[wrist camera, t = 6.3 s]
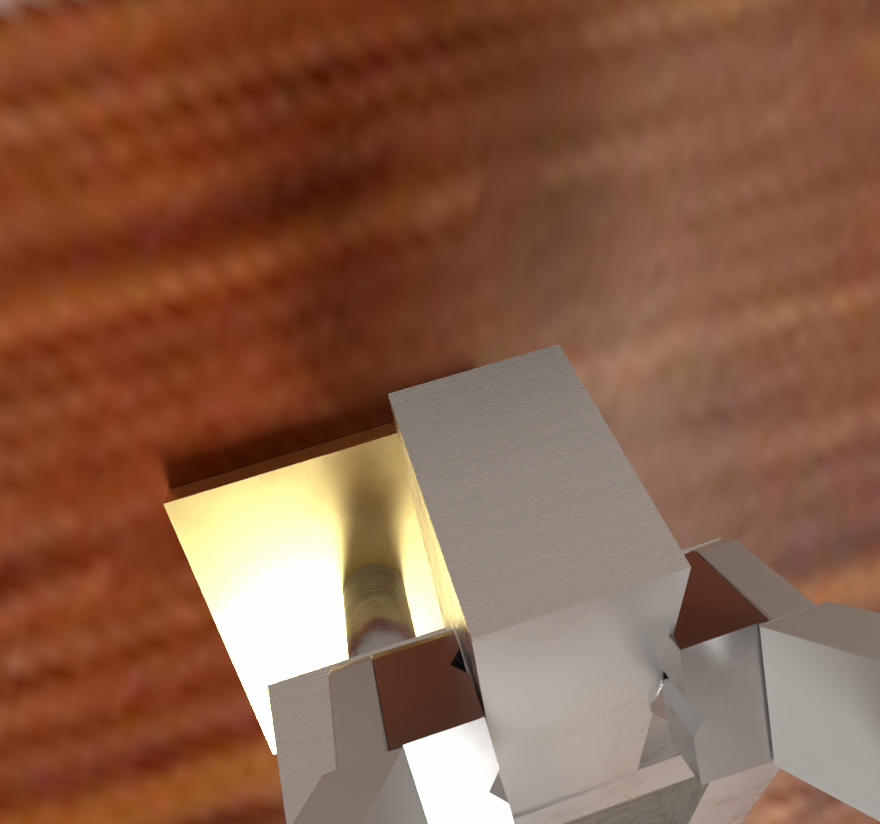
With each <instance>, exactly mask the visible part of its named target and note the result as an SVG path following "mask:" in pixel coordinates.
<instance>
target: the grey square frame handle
mask: <svg viewBox="0 0 880 824" xmlns="http://www.w3.org/2000/svg"><path fill="white" fill-rule="evenodd" d="M388 397H389V401H390V405H391V409H392V413H393V417H394V422H395V426H396V430H397V434H398V438H399V442H400V446H401V451H402V455H403V459H404V463H405V467H406V471H407V475H408V479H409V484H410V488H411V492H412V496H413V500H414V504H415V508H416V513H417V517H418V521H419V525H420V529H421V533H422V537H423V541H424V546H425V550H426V554H427V558H428V562H429V566H430V570H431V575H432V579H433V583H434V587H435V591H436V595H437V599H438V603H439V608H440V612H441V616H442V620H443V624H444V628H442V629H439V630H436V631H433V632H429V633H426V634H423V635H420V636H417V637H414V638H411V639H408V640H405V641H402V642H399V643H396V644H393V645H390V646H387V647H383V648H380V649H377V650H374V651H371V652H368V653H365V654H362V655H359V656H356V657H353V658H350V659H347V660H344V661H340V662H337V663H334V664H331V665H328V666H325V667H322V668H319V669H316V670H313V671H310V672H307V673H304V674H301V675H298V676H294V677H291V678H288V679H285V680H282V681H279V682H276V683H273V684H270V685H267V686H268V694H269V701H270V708H271V715H272V722H273V730H274V737H275V744H276V751H277V758H278V766H279V773H280V780H281V787H282V795H283V802H284V809H285V816H286V823H287V824H293V823H294V821H295V819H296V818H297V816H298V815H299V813H300V811H301V810H302V808H303V806H304V805H305V803H306V802H307V800H308V798H309V797H310V795H311V793H312V792H313V790H314V789H315V787H316V785H317V784H318V782H319V780H320V779H321V777H322V776H323V774H325V773H328V772H331V771H334V770H336V762H335V750H334V738H333V727H332V715H331V703H330V691H329V680H328V675H329V672H330V669H331V668H333V667H336V666H339V665H342V664H345V663H348V662H351V661H354V660H357V659H360V658H363V657H366V656H371V657H373V654H376V653H379V652H382V651H386V650H389V649H392V648H396V647H399V646H402V645H405V644H409V643H412V642H415V641H419V640H422V639H425V638H428V637H432V636H435V635H438V634H442V633H445V632H448V631H451V630H453V631H454V634H455V636H456V639H457V641H458V644H459V647H460V650H461V653H462V657H463V660H464V664H465V667H466V670H467V673H469V674H470V677H471V680H472V682H473V685H474V688H475V691H476V694H477V697H478V700H479V702H480V705H481V708H482V711H483V714H484V717H485V720H486V724H487V727H488V730H489V734H490V737H491V741H492V744H493V748H494V751H495V755H496V758H497V762H498V765H499V771H498V773H499V776H500V779H501V781H502V784H503V787H504V790H505V793H506V796H507V799H508V802H509V805H510V809H511V813H512V816H513V820H514V824H741V822H742V821H743V819H744V818H745V817H746V815H747V814H748V812H749V811H750V810H751V808H752V807H753V805H754V804H755V803H756V801H757V800H758V799H759V797H760V796H761V794H762V793H763V792H764V790H765V789H766V787H767V786H768V785H769V783H770V782H771V780H772V779H773V778H774V776H775V775H776V773H777V772H778V771H779V769H780V768H779V767H777V766H775V765H774V761H773V762H770V763H767V764H764V765H761V766H758V767H755V768H752V769H749V770H746V771H743V772H740V773H737V774H734V775H731V776H728V777H725V778H722V779H719V780H716V781H713V782H710V783H707V784H704V785H701V784H700V782H699V781H698V780H697V778H696V777H695V775H694V774H693V772H692V771H691V769H690V768H689V766H688V765H687V764H686V762H685V761H684V759H683V758H682V756H681V755H680V753H679V752H678V750H677V749H676V747H675V746H674V745H673V743H672V742H671V736H670V731H669V725H668V720H665V719H663V718H661V717H658V716H656V715H653V713H652V712H651V710H650V706H651V703H652V702H653V701H654V700H655V698H656V697H657V695H658V691H659V687H660V683H661V679H662V676H663V672H664V671H663V670H662V668H661V667H660V665H661V662H662V658H663V654H664V651H665V647H666V643H667V640H668V636H670V635H673V634H674V630H675V627H676V623H677V619H678V615H679V611H680V608H681V604H682V600H683V596H684V593H685V589H686V585H687V581H688V578H689V574H690V570H691V566H690V564H689V562H688V561H687V559H686V557H685V556H684V554H686V553H689V552H690V551H691V550H694V549H697V548H699V547H702V546H705V545H708V544H710V543H713V542H716V541H719V540H721V538H718V539H715V540H712V541H709V542H706V543H703V544H700V545H697V546H693V547H690V548H687V549H684V550H681V549H680V547H679V546H678V544H677V542H676V541H675V539H674V537H673V535H672V534H671V532H670V530H669V529H668V527H667V525H666V524H665V522H664V520H663V519H662V517H661V515H660V514H659V512H658V510H657V508H656V507H655V505H654V503H653V502H652V500H651V498H650V497H649V495H648V493H647V492H646V490H645V488H644V487H643V485H642V483H641V481H640V480H639V478H638V476H637V475H636V473H635V471H634V470H633V468H632V466H631V465H630V463H629V461H628V460H627V458H626V456H625V455H624V453H623V451H622V449H621V448H620V446H619V444H618V443H617V441H616V439H615V438H614V436H613V434H612V433H611V431H610V429H609V428H608V426H607V424H606V422H605V421H604V419H603V417H602V416H601V414H600V412H599V411H598V409H597V407H596V406H595V404H594V402H593V401H592V399H591V397H590V395H589V394H588V392H587V390H586V389H585V387H584V385H583V384H582V382H581V380H580V379H579V377H578V375H577V374H576V372H575V370H574V369H573V367H572V365H571V363H570V362H569V360H568V358H567V357H566V355H565V353H564V352H563V350H562V348H561V347H560V345H559V344H558V345H555V346H551V347H548V348H544V349H541V350H537V351H534V352H530V353H527V354H524V355H520V356H517V357H513V358H510V359H506V360H503V361H499V362H496V363H492V364H489V365H486V366H482V367H479V368H475V369H472V370H468V371H465V372H461V373H458V374H455V375H451V376H448V377H444V378H441V379H437V380H434V381H430V382H427V383H424V384H420V385H417V386H413V387H410V388H406V389H403V390H399V391H396V392H392V393H389V394H388Z"/></svg>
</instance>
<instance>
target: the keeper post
mask: <svg viewBox="0 0 880 824" xmlns="http://www.w3.org/2000/svg"><path fill="white" fill-rule="evenodd" d="M164 506H165V509H166V511H167V513H168V515H169V518H170V520H171V522H172V525H173V527H174V529H175V531H176V534H177V536H178V538H179V541H180V543H181V545H182V547H183V550H184V552H185V554H186V557H187V559H188V561H189V563H190V566H191V568H192V570H193V573H194V575H195V577H196V579H197V582H198V584H199V586H200V589H201V591H202V593H203V595H204V598H205V600H206V602H207V605H208V607H209V609H210V611H211V614H212V616H213V618H214V621H215V623H216V625H217V627H218V630H219V632H220V634H221V637H222V639H223V641H224V643H225V646H226V648H227V650H228V653H229V655H230V657H231V659H232V662H233V664H234V666H235V669H236V671H237V673H238V675H239V678H240V680H241V682H242V684H243V687H244V689H245V691H246V694H247V696H248V698H249V700H250V703H251V705H252V707H253V710H254V712H255V714H256V716H257V719H258V721H259V723H260V726H261V728H262V730H263V732H264V735H265V737H266V739H267V742H268V744H269V746H270V748H271V751H272V753H273V755H274V754H277V751H276V744H275V737H274V730H273V722H272V715H271V708H270V701H269V694H268V686H267V685H270V684H273V683H276V682H279V681H282V680H285V679H288V678H291V677H294V676H298V675H301V674H304V673H307V672H310V671H313V670H316V669H319V668H322V667H325V666H328V665H331V664H334V663H337V662H340V661H344V660H347V659H350V658H353V657H356V656H359V655H362V654H365V653H368V652H371V651H374V650H377V649H380V648H383V647H387V646H390V645H393V644H396V643H399V642H402V641H405V640H408V639H411V638H414V637H417V636H420V635H423V634H426V633H429V632H433V631H436V630H439V629H442V628H444V624H443V620H442V616H441V612H440V608H439V603H438V599H437V595H436V591H435V587H434V583H433V579H432V575H431V570H430V566H429V562H428V558H427V554H426V550H425V546H424V541H423V537H422V533H421V529H420V525H419V521H418V517H417V513H416V508H415V504H414V500H413V496H412V492H411V488H410V484H409V479H408V475H407V471H406V467H405V463H404V459H403V455H402V451H401V446H400V442H399V438H398V434H397V430H396V426H395V422H392V423H388V424H385V425H382V426H378V427H375V428H372V429H368V430H365V431H362V432H358V433H355V434H352V435H349V436H345V437H342V438H339V439H335V440H332V441H329V442H325V443H322V444H319V445H315V446H312V447H309V448H305V449H302V450H299V451H295V452H292V453H289V454H285V455H282V456H279V457H275V458H272V459H269V460H265V461H262V462H259V463H256V464H252V465H249V466H246V467H242V468H239V469H236V470H232V471H229V472H226V473H222V474H219V475H216V476H212V477H209V478H206V479H202V480H199V481H196V482H192V483H189V484H186V485H182V486H179V487H176V488H172V489H169V491H168V493H167V496H166V499H165V501H164Z"/></svg>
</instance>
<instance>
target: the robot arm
mask: <svg viewBox="0 0 880 824" xmlns="http://www.w3.org/2000/svg"><path fill="white" fill-rule="evenodd" d="M684 556H685V557H686V559H687V561H688V562H689V564H690V566H691V570H690V574H689V578H688V581H687V585H686V589H685V593H684V596H683V600H682V604H681V608H680V611H679V615H678V619H677V623H676V627H675V630H674V634H673V635H670V636H668V640H667V643H666V647H665V651H664V654H663V658H662V662H661V665H660V667H661V668H662V670H663V671H664V672H663V676H662V679H661V683H660V687H659V691H658V695H657V697H656V698H655V700H654V701H653V702H652V703H651V706H650V710H651V712H652V713H653V715H656V716H658V717H661V718H663V719H665V720H668V725H669V731H670V736H671V742H672V743H673V745H674V746H675V747H676V749H677V750H678V752H679V753H680V755H681V756H682V758H683V759H684V761H685V762H686V764H687V765H688V766H689V768H690V769H691V771H692V772H693V774H694V775H695V777H696V778H697V780H698V781H699V782H700V784H701V785H704V784H707V783H710V782H713V781H716V780H719V779H722V778H725V777H728V776H731V775H734V774H737V773H740V772H743V771H746V770H749V769H752V768H755V767H758V766H761V765H764V764H767V763H770V762H773V761H774V765H775V766H777V767H779V768H781V769H782V770H784V771H786V772H788V773H790V774H792V775H794V776H796V777H797V778H799V779H801V780H803V781H805V782H807V783H809V784H811V785H812V786H814V787H816V788H818V789H820V790H822V791H824V792H825V793H827V794H829V795H831V796H833V797H835V798H837V799H839V800H840V801H842V802H844V803H846V804H848V805H850V806H852V807H854V808H855V809H857V810H859V811H861V812H863V813H865V814H867V815H868V816H870V817H872V818H874V819H876V820H878V821H880V613H876V612H872V611H868V610H863V609H859V608H855V607H851V606H847V605H842V604H838V603H834V602H830V601H827V602H824V603H821V604H818V605H816V604H814V603H813V602H812V601H811V600H809V599H808V598H807V597H806V596H805V595H803V594H802V593H801V592H800V591H798V590H797V589H796V588H795V587H793V586H792V585H791V584H790V583H789V582H787V581H786V580H785V579H784V578H782V577H781V576H780V575H779V574H777V573H776V572H775V571H774V570H772V569H771V568H770V567H769V566H768V565H766V564H765V563H764V562H763V561H761V560H760V559H759V558H758V557H756V556H755V555H754V554H753V553H751V552H750V551H749V550H748V549H747V548H745V547H744V546H743V545H742V544H740V543H739V542H738V541H737V540H735V539H731V538H724V539H721V540H719V541H716V542H713V543H710V544H708V545H705V546H702V547H699V548H697V549H694V550H691V551H690V552H689V553H686V554H684ZM328 680H329V691H330V703H331V715H332V727H333V738H334V750H335V762H336V770H334V771H331V772H328V773H325V774H323V776H322V777H321V779H320V780H319V782H318V784H317V785H316V787H315V789H314V790H313V792H312V793H311V795H310V797H309V798H308V800H307V802H306V803H305V805H304V806H303V808H302V810H301V811H300V813H299V815H298V816H297V818H296V819H295V821H294V823H293V824H514V820H513V816H512V813H511V809H510V805H509V802H508V799H507V796H506V793H505V790H504V787H503V784H502V781H501V779H500V776H499V773H498V771H499V765H498V762H497V758H496V755H495V751H494V748H493V744H492V741H491V737H490V734H489V730H488V727H487V724H486V720H485V717H484V714H483V711H482V708H481V705H480V702H479V700H478V697H477V694H476V691H475V688H474V685H473V682H472V680H471V677H470V674H469V673H467V670H466V667H465V664H464V660H463V657H462V653H461V650H460V647H459V644H458V641H457V639H456V636H455V634H454V631H453V630H451V631H448V632H445V633H442V634H438V635H435V636H432V637H428V638H425V639H422V640H419V641H415V642H412V643H409V644H405V645H402V646H399V647H396V648H392V649H389V650H386V651H382V652H379V653H376V654H373V657H371V656H366V657H363V658H360V659H357V660H354V661H351V662H348V663H345V664H342V665H339V666H336V667H333V668H331V669H330V672H329V675H328Z"/></svg>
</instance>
